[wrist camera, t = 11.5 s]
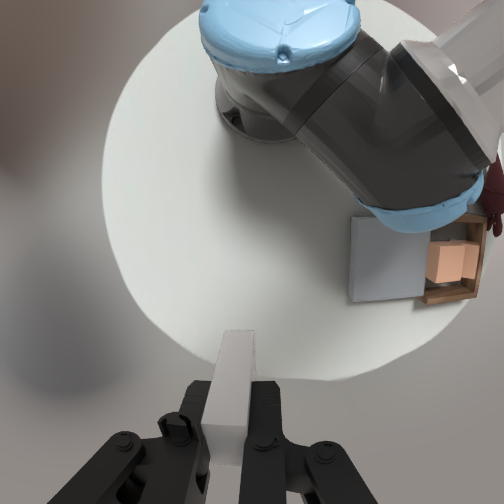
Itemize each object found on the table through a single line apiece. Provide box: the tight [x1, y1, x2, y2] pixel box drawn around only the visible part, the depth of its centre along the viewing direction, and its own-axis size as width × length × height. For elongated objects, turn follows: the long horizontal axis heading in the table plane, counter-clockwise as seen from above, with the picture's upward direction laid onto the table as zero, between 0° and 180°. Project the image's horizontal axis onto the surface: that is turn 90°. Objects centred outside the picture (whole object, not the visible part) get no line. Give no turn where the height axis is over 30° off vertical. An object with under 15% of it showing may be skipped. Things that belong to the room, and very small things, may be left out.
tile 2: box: [450, 239, 479, 279], centre depth 36 cm, size 6×6×3 cm
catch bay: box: [417, 213, 487, 305], centre depth 36 cm, size 14×12×4 cm
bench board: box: [348, 217, 431, 302], centre depth 38 cm, size 12×12×3 cm
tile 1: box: [425, 241, 465, 283], centre depth 34 cm, size 6×6×3 cm
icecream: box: [479, 153, 504, 237], centre depth 32 cm, size 7×7×15 cm
